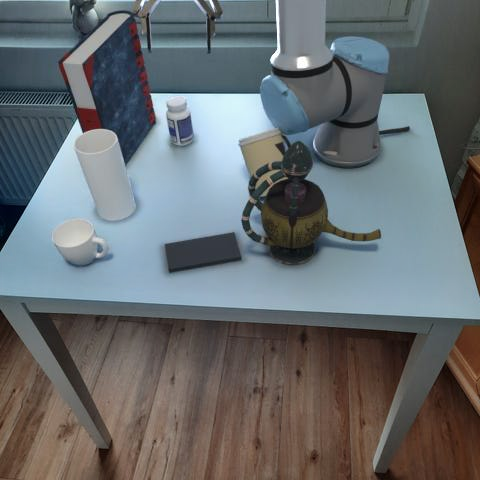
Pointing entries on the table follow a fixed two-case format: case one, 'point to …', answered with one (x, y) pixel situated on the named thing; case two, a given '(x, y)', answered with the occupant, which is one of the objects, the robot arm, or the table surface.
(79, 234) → the cup
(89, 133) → the cup
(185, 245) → the mat
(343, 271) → the table surface
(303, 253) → the teapot
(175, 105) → the pill bottle
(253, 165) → the coffee cup
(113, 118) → the book
